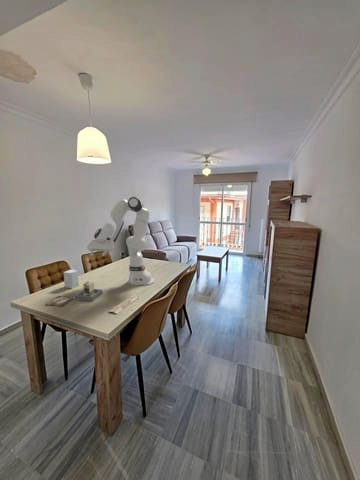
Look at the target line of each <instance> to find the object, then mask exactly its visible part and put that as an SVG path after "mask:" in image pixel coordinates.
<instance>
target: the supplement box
mask: <svg viewBox="0 0 360 480" xmlns="http://www.w3.org/2000/svg"><path fill="white" fill-rule="evenodd" d="M63 280H64V288H66V289H68V288H69V289H74V288H76V287H78V286H79V285H80V283H79V270H77V269H68V270H66V271H64V272H63Z"/></svg>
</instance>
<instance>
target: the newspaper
mask: <svg viewBox="0 0 360 480" xmlns="http://www.w3.org/2000/svg"><path fill="white" fill-rule="evenodd" d="M137 298H138V297H137V296H135V295H130V296H129V297H128V298H125V300H123V301H122V302H121V303H119V304H118V305H116V306H115V307H113V308H112V309H110V310H108V313H111V312H112V313H114V314H116V315H118V314H119V313H120V312H122V311H123V310H124V309H125V307H126V308H127V307H128V306H130V305H131V304H133V303H134V302H135V301H137V300H138V299H137ZM133 301H134V302H133ZM121 310H122V311H121ZM117 313H118V314H117Z"/></svg>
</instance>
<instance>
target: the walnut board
mask: <svg viewBox="0 0 360 480" xmlns="http://www.w3.org/2000/svg"><path fill="white" fill-rule="evenodd" d="M73 300H75V296H66V295H65V296H63V295H58V296H56V297H55V298H53V299H51V300H49V301H48V302H46V303H45V304H44V305H46V306H51V307H52V306H53V307H64V306H65V305H67V304H68V303H70V302H71V301H73Z"/></svg>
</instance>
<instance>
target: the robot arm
mask: <svg viewBox="0 0 360 480" xmlns="http://www.w3.org/2000/svg"><path fill="white" fill-rule="evenodd" d="M129 211H131V212H135V213H136V214H135V220H134V223H133V227H132V230H133V235H131V236H128V237H127V238H126V240H125V243H126V246H127V252H128V256H129V265H128V270H129V271H128V272H129V275H128V280H127V281H128V283H129V284H130V285H133V286H136V285H137V286H138V285H140V286H145V285H146V286H148V285H149V286H150V285H152V284H153V283H154V281H155V278H154V277H152V274H151V272H150V271H148V270H147V269H146V265H144V264H143V263H144V262H143V261H144V258H143V254H142V251H145V250H146V249H147V245H148V243H147V240H146V239H147V234H146V233H147V229H148V226H149V225H148V224H149V220H150V211H149V209H147V208H144V204H143V202H142V200H141V199H140V198H139V197H137V196H131V197H130V198H129V199H128V200H127V199H124V198H121V199H119V201H118V202H117V203H115V205H114V206H113V207H112V208H111V211H110V217H111V219H112V221H113V222H114V223H115V228H114V226H113V225H112V224H111V223H108V222H107V223H105V224H104V225H103V226H102V227H101V228H99V229H96V231H95V233H94V235H93V238H94V239H92V240H90V241H89V243H88V245H87V246H86V249H87V250H88V251H89V252H90V254H89V255H90V256H94V253H93V252H102V253H101V257H105V256H106V255H107V254H108V252H109V253H112V252H114V249H115V248H114V247H115V245H116V242H117V240H118V237H119V235H120V233H121V230H122V229H123V227H124V224H125V223H124V221H125V220H124V217H125V215H126V214H127V213H128V212H129Z"/></svg>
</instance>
